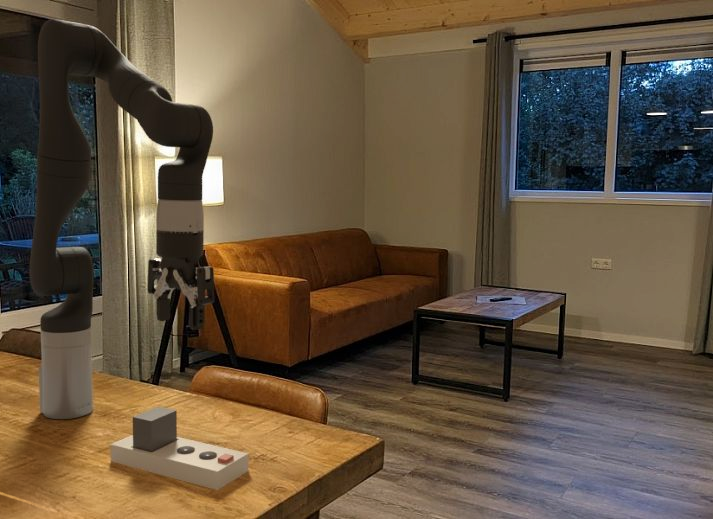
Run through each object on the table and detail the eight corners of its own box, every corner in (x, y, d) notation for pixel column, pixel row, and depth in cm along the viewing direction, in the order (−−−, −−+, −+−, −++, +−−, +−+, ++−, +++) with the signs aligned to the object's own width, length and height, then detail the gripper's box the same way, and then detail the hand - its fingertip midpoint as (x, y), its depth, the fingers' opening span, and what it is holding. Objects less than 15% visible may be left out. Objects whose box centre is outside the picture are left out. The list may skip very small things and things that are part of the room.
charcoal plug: (133, 463, 114) (132, 416, 113) (158, 451, 120) (158, 406, 119) (151, 468, 113) (151, 421, 112) (176, 455, 118) (176, 410, 117)
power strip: (107, 460, 116) (106, 439, 115) (141, 444, 123) (141, 425, 122) (217, 490, 105) (217, 467, 105) (248, 471, 113) (248, 449, 112)
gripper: (134, 225, 115) (134, 321, 117) (190, 232, 106) (189, 335, 108) (171, 223, 120) (171, 314, 123) (227, 229, 112) (226, 328, 114)
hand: (179, 324), depth 115 cm, fingers open, 8 cm apart
